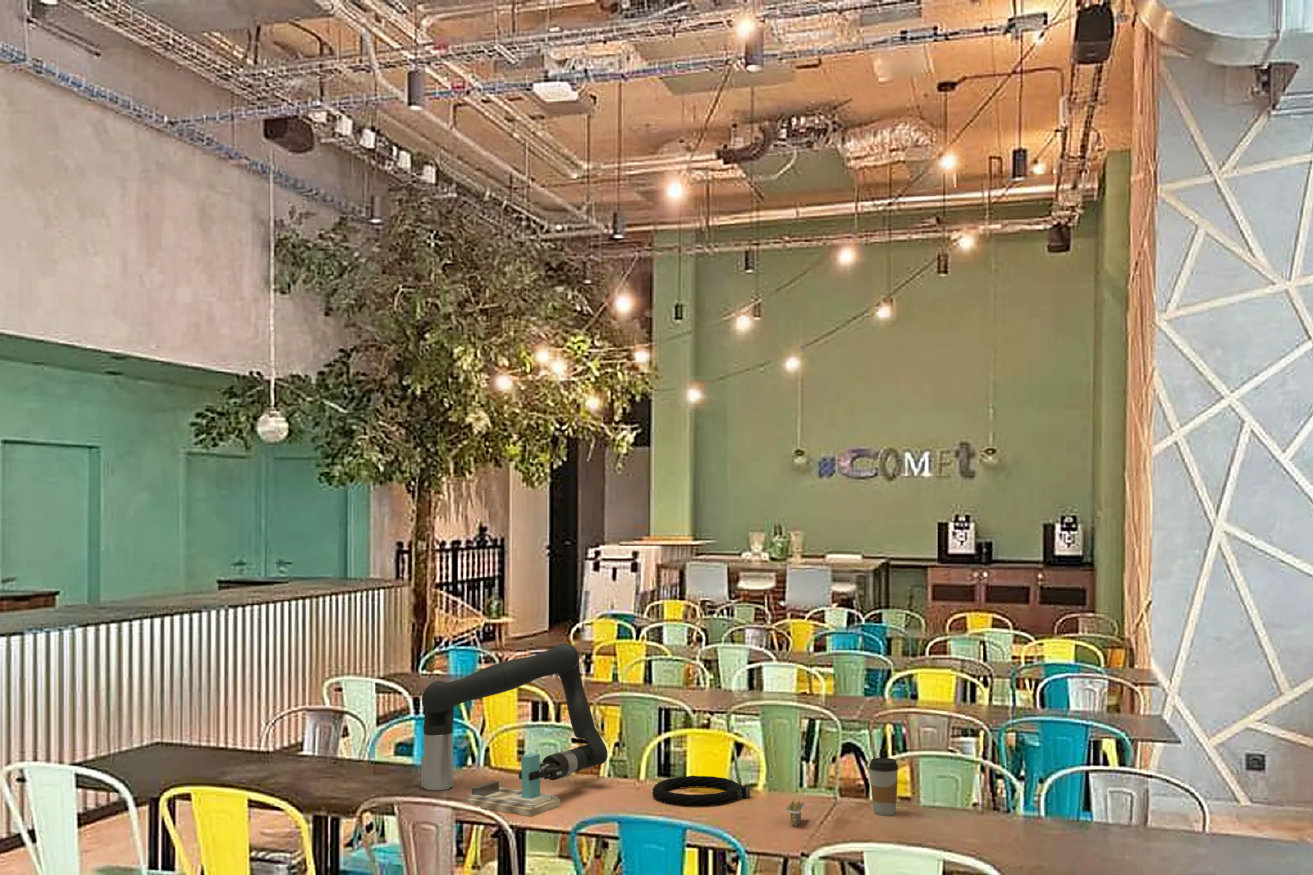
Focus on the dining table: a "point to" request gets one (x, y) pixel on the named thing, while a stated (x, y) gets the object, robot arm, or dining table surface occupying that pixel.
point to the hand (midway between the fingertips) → (524, 776)
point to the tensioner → (530, 787)
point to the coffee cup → (884, 785)
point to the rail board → (506, 800)
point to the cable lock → (724, 797)
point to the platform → (795, 811)
